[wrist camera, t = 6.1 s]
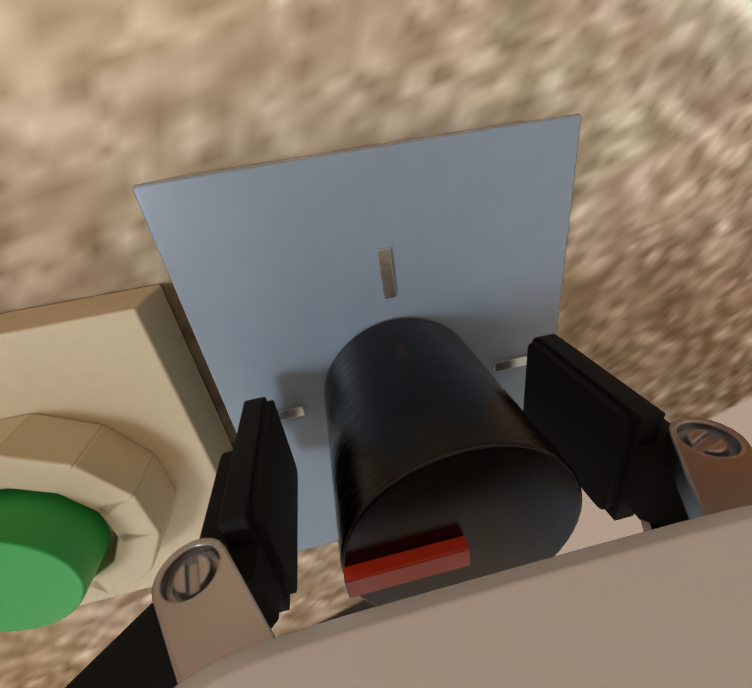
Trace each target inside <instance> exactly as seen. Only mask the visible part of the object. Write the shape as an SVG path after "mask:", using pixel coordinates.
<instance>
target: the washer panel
mask: <svg viewBox="0 0 752 688" xmlns="http://www.w3.org/2000/svg"><path fill="white" fill-rule="evenodd" d="M580 122H581V115H579V114H575V115H567V116H560V117H552V118H545V119H537V120H529V121H522V122H515V123H509V124H503V125H496V126H490V127H484V128H478V129H471V130H465V131H459V132H453V133H446V134H440V135H434V136H428V137H421V138H415V139H409V140H403V141H396V142H390V143H384V144H378V145H371V146H365V147H359V148H353V149H346V150H340V151H334V152H328V153H321V154H315V155H309V156H303V157H296V158H290V159H284V160H277V161H271V162H265V163H259V164H252V165H246V166H240V167H234V168H227V169H221V170H215V171H209V172H202V173H196V174H190V175H184V176H177V177H171V178H167V179H162V180H157V181H152V182H148V183H143V184H138V185H134V186H133V187H132V189H133V192H134V194H135V196H136V199H137V201H138V203H139V206H140V208H141V210H142V213H143V215H144V218H145V220H146V222H147V225H148V227H149V229H150V232H151V234H152V236H153V239H154V241H155V243H156V246H157V248H158V250H159V253H160V255H161V257H162V260H163V262H164V264H165V267H166V269H167V271H168V274H169V276H170V278H171V281H172V283H173V285H174V288H175V290H176V293H177V295H178V297H179V300H180V302H181V304H182V307H183V309H184V311H185V314H186V316H187V318H188V321H189V323H190V325H191V328H192V330H193V332H194V335H195V337H196V339H197V342H198V344H199V346H200V349H201V351H202V353H203V356H204V358H205V360H206V363H207V365H208V368H209V370H210V372H211V375H212V377H213V379H214V382H215V384H216V386H217V389H218V391H219V393H220V396H221V398H222V400H223V403H224V405H225V407H226V410H227V412H228V414H229V417H230V419H231V421H232V424H233V426H234V428H235V431H236V433H237V431H238V427H239V422H240V418H241V413H242V409H243V404H244V402H245V401H247V400H251V399H256V398H260V397H266V399H267V401H270V400H273V401H274V403H275V405H276V408H277V411H278V414H279V417H280V420H281V423H282V426H283V429H284V432H285V435H286V437H287V440H288V443H289V446H290V449H291V452H292V455H293V458H294V461H295V464H296V467H297V473H298V549H297V551H301V550H305V549H309V548H313V547H316V546H320V545H324V544H328V543H332V542H336V541H338V531H337V521H336V511H335V501H334V491H333V481H332V471H331V460H330V450H329V440H328V430H327V420H326V410H325V400H324V387H325V380H326V377H327V373H328V370H329V368H330V366H331V364H332V362H333V360H334V359H335V357H336V356H337V354H338V353H339V352H340V351H341V349H342V348H343V347H344V346H345V345H346V344H347V343H348V342H349V341H350V340H351V339H353V338H354V337H355V336H357V335H358V334H359V333H361V332H362V331H364V330H366V329H368V328H370V327H372V326H374V325H377V324H379V323H382V322H386V321H389V320H394V319H401V318H419V319H426V320H430V321H434V322H437V323H439V324H442V325H444V326H446V327H447V328H449V329H451V330H452V331H453V332H455V333H456V334H457V335H458V336H459V337H460V338H461V339H462V340H463V341H464V342H465V344H466V345H467V346H468V347H469V348H470V349H471V351H472V352H473V353H474V354H475V355H476V356H477V358H478V359H479V360H480V361H481V362H482V363H483V365H484V366H485V367H486V368H487V369H488V370H489V372H490V373H491V374H492V375H493V376H494V377H495V379H496V380H497V381H498V382H499V383H500V384H501V386H502V387H503V388H504V389H505V390H506V391H507V393H508V394H509V395H510V396H511V397H512V398H513V400H514V401H515V402H516V403H517V404H518V405H519V407H520V408H521V409H522V410H523V405H524V391H525V377H526V363H527V349H528V345H529V344H530V343H532V341H533V339H534V338H535V337H539V336H544V335H549V334H555V335H557V326H558V317H559V308H560V299H561V290H562V281H563V273H564V264H565V255H566V246H567V237H568V228H569V219H570V211H571V202H572V193H573V184H574V175H575V166H576V157H577V149H578V140H579V131H580Z"/></svg>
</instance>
